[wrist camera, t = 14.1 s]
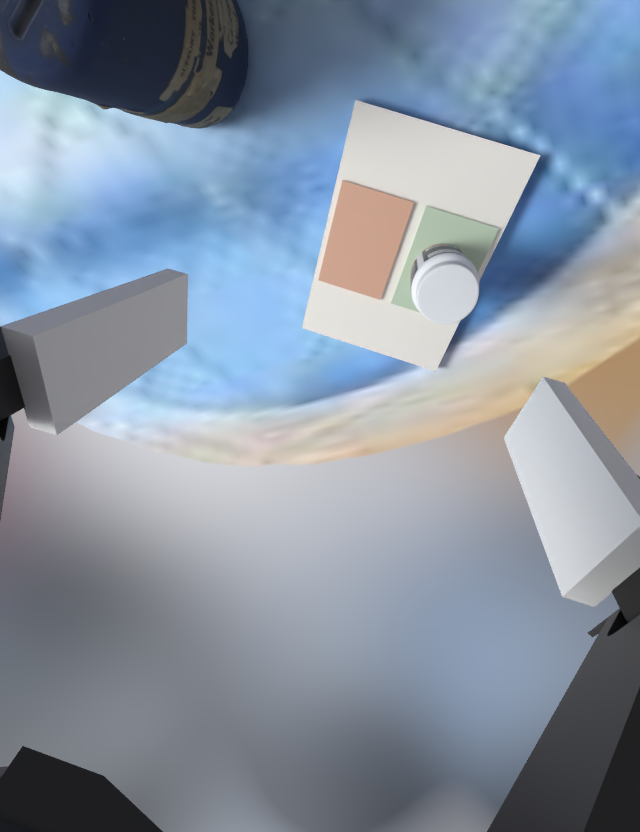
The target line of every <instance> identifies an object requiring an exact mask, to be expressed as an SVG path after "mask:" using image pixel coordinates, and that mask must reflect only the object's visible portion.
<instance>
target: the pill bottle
mask: <svg viewBox="0 0 640 832" xmlns="http://www.w3.org/2000/svg"><path fill="white" fill-rule="evenodd" d="M410 282H411V296H412V300H413V303H414V305H415V307H416V308H417V309H418V311H419V312H420V313H421V314H422V315H423V316H424V317H425V318H426V319H428V320H429V321H431V322H433V323H436V324H441V325H446V324H452V323H456V322H458V321H460V320H462V319H464V318H465V317H466V316H467V315H468V314H469V313H470V312H471V311H472V310H473V308H474V307H475V305H476V303H477V301H478V297H479V276H478V272H477V270H476V268H475V266H474V264H473V263H472V262H471V261H470V260H469V259H468V258H467V256H466V255H465V254H464V253H463V252H462V251H461V250H460V249H458V248H457V247H455V246H453V245H450V244H435V245H432V246H430V247H428V248H426V249H425V250H424V251H422V252H421V253H420V254H419V255H418V256H417V258H416V259H415V261H414V263H413V265H412V268H411V274H410Z"/></svg>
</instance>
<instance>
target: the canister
mask: <svg viewBox="0 0 640 832" xmlns="http://www.w3.org/2000/svg"><path fill="white" fill-rule="evenodd" d="M247 66H248V44H247V35H246V30H245V25H244V21H243V17H242V14H241V11H240V8H239V6H238V3H237V1H236V0H0V70H1V71H3V72H5V73H6V74H8V75H10V76H12V77H13V78H15V79H17V80H19V81H21V82H24V83H26V84H29V85H31V86H34V87H38V88H41V89H45V90H49V91H54V92H59V93H62V94H66V95H70V96H74V97H77V98H81V99H84V100H87V101H90V102H92V103H94V104H96V105H98V106H99V107H101V108H102V109H109V108H117V109H120V110H122V111H125V112H127V113H130V114H133V115H137V116H140V117H144V118H148V119H153V120H157V121H161V122H165V123H174V124H178V125H181V126H185V127H190V128H206V127H209V126H212V125H215V124H217V123H218V122H220V121H222V120H223V119H224V118H225V117H226V116H227V115H228V114H229V113H230V112H231V111H232V109H233V108H234V106H235V105H236V103H237V101H238V100H239V97H240V95H241V92H242V90H243V87H244V83H245V79H246V74H247Z"/></svg>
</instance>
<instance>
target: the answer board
mask: <svg viewBox="0 0 640 832" xmlns="http://www.w3.org/2000/svg"><path fill="white" fill-rule="evenodd" d="M539 157H540V155H537V154H534V153H531V152H527V151H524V150H521V149H517V148H514V147H511V146H507V145H504V144H501V143H497V142H494V141H491V140H487V139H484V138H481V137H477V136H474V135H471V134H467V133H464V132H461V131H457V130H454V129H451V128H447V127H444V126H441V125H437V124H434V123H431V122H427V121H424V120H421V119H418V118H414V117H411V116H408V115H404V114H401V113H398V112H394V111H391V110H388V109H384V108H381V107H378V106H374V105H371V104H368V103H364V102H361V101H358V100H355V104H354V108H353V112H352V117H351V121H350V125H349V129H348V134H347V138H346V142H345V146H344V151H343V155H342V159H341V164H340V168H339V172H338V176H337V181H336V185H335V189H334V193H333V198H332V202H331V206H330V210H329V215H328V219H327V223H326V228H325V232H324V236H323V240H322V245H321V249H320V253H319V257H318V262H317V266H316V270H315V274H314V279H313V283H312V287H311V291H310V296H309V300H308V304H307V309H306V313H305V317H304V321H303V326H302V328H304V329H307V330H310V331H313V332H316V333H319V334H322V335H325V336H328V337H331V338H334V339H338V340H341V341H344V342H347V343H350V344H353V345H356V346H359V347H362V348H365V349H369V350H372V351H375V352H378V353H381V354H384V355H387V356H390V357H393V358H396V359H399V360H403V361H406V362H409V363H412V364H415V365H418V366H421V367H424V368H427V369H430V370H433V371H436V370H437V368H438V366H439V364H440V362H441V359H442V357H443V355H444V353H445V351H446V349H447V347H448V345H449V343H450V341H451V339H452V337H453V335H454V333H455V331H456V329H457V326H458V324H459V322H460V321H458V322H456V323H452V324H446V325H441V324H436V323H433V322H431V321H429V320H428V319H426V318H425V317H424V316H423V315H422V314H421V313H420V312H419V311H418V309H417V308H416V307H415V305H414V303H413V300H412V296H411V282H410V274H411V268H412V265H413V263H414V261H415V259H416V258H417V256H418V255H419V254H420V253H421V252H422V251H424V250H425V249H426V248H428V247H430V246H432V245H435V244H450V245H453V246H455V247H457V248H458V249H460V250H461V251H462V252H463V253H464V254H465V255H466V256H467V258H468V259H469V260H470V261H471V262H472V263H473V264H474V266H475V268H476V270H477V272H478V276H479V281H480V279H481V277H482V275H483V273H484V271H485V269H486V267H487V265H488V263H489V260H490V258H491V256H492V254H493V252H494V250H495V248H496V246H497V244H498V242H499V240H500V238H501V236H502V234H503V232H504V230H505V227H506V225H507V223H508V221H509V219H510V217H511V215H512V213H513V211H514V209H515V207H516V205H517V203H518V201H519V199H520V197H521V194H522V192H523V190H524V188H525V186H526V184H527V182H528V180H529V178H530V176H531V174H532V172H533V170H534V168H535V166H536V163H537V161H538V159H539Z"/></svg>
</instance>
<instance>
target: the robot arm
mask: <svg viewBox="0 0 640 832" xmlns="http://www.w3.org/2000/svg"><path fill="white" fill-rule="evenodd" d="M187 291H188V274H185V273H181V272H178V271H174V270H171V269H166V270H163V271H160V272H157V273H154V274H151V275H148V276H145V277H143V278H140V279H137V280H134V281H131V282H128V283H125V284H122V285H119V286H116V287H114V288H111V289H108V290H105V291H102V292H99V293H96V294H93V295H90V296H88V297H85V298H82V299H79V300H76V301H73V302H70V303H67V304H64V305H61V306H59V307H56V308H53V309H50V310H47V311H44V312H41V313H38V314H35V315H33V316H30V317H27V318H24V319H21V320H18V321H15V322H12V323H9V324H6V325H4V326H1V327H0V519H1V512H2V506H3V499H4V492H5V486H6V479H7V473H8V466H9V459H10V453H11V446H12V440H13V432H14V424H13V421H12V418H11V415H12V414H14V413H15V412H17V411H19V410H21V409H22V408H24V409H25V413H26V416H27V420H28V423H29V427H32V428H35V429H38V430H42V431H44V432H48V433H51V434H54V435H58V434H59V433H61V432H62V431H63V430H65V429H67V428H68V427H69V426H71V425H72V424H74V423H75V422H76V421H78V420H79V419H81V418H82V417H83V416H85V415H86V414H88V413H89V412H91V411H92V410H93V409H95V408H96V407H98V406H99V405H100V404H102V403H103V402H105V401H106V400H107V399H109V398H110V397H112V396H113V395H115V394H116V393H117V392H119V391H120V390H122V389H123V388H124V387H126V386H127V385H129V384H130V383H131V382H133V381H134V380H136V379H137V378H139V377H140V376H141V375H143V374H144V373H146V372H147V371H148V370H150V369H151V368H153V367H154V366H155V365H157V364H158V363H160V362H161V361H163V360H164V359H165V358H167V357H168V356H170V355H171V354H172V353H174V352H175V351H177V350H178V349H179V348H181V347H182V346H184V345H185V344H187ZM504 440H505V443H506V445H507V448H508V451H509V453H510V456H511V459H512V461H513V464H514V467H515V470H516V472H517V475H518V478H519V480H520V483H521V486H522V489H523V491H524V494H525V497H526V499H527V502H528V505H529V507H530V510H531V513H532V516H533V518H534V521H535V524H536V527H537V529H538V532H539V535H540V537H541V540H542V543H543V546H544V548H545V551H546V554H547V556H548V559H549V562H550V565H551V567H552V570H553V573H554V575H555V578H556V581H557V584H558V586H559V589H560V592H561V594H562V597H565V598H568V599H571V600H574V601H577V602H580V603H584V604H587V605H590V606H593V607H595V606H596V605H597V604H599V603H600V602H601V601H602V600H604V599H605V598H606V597H607V596H608V595H610V594H611V593H613V595H614V597H615V599H616V601H617V603H618V605H619V607H620V609H618V610H617V611H616V612H614V613H613V614H612V615H611V616H609V617H608V618H607V619H605V620H604V621H603V622H602V623H600V624H599V625H597V626H596V627H595V628H594V629H592V630H591V631H590V632H588V634H590V635H591V636H592V637H594V636H595V635H597V634H599V635H598V636H597V638H596V640H595V642H594V643H593V645H592V647H591V649H590V651H589V652H588V654H587V656H586V658H585V659H584V661H583V663H582V665H581V666H580V668H579V670H578V672H577V674H576V675H575V677H574V679H573V681H572V682H571V684H570V686H569V688H568V689H567V692H566V693H565V695H564V697H563V698H562V700H561V702H560V704H559V706H558V707H557V709H556V711H555V712H554V714H553V716H552V718H551V719H550V721H549V723H548V725H547V727H546V728H545V730H544V732H543V734H542V735H541V738H540V739H539V741H538V743H537V744H536V746H535V748H534V750H533V751H532V753H531V755H530V757H529V758H528V760H527V762H526V764H525V765H524V767H523V769H522V771H521V772H520V774H519V776H518V778H517V780H516V781H515V783H514V785H513V787H512V788H511V790H510V792H509V794H508V795H507V797H506V799H505V801H504V803H503V805H502V806H501V808H500V810H499V811H498V813H497V815H496V817H495V818H494V820H493V822H492V824H491V825H490V827H489V829H488V831H487V832H640V477H639V476H638V475H637V474H635V473H634V471H633V470H632V469H631V467H630V466H629V465H628V463H627V462H626V461H625V460H624V458H623V457H622V456H621V454H620V453H619V452H618V451H617V449H616V448H615V447H614V445H613V444H612V443H611V442H610V440H609V439H608V438H607V436H606V435H605V434H604V433H603V431H602V430H601V429H600V427H599V426H598V425H597V424H596V423H595V421H594V420H593V418H592V417H591V416H590V415H589V413H588V412H587V411H586V410H585V408H584V407H583V406H582V404H581V403H580V402H579V401H578V399H577V398H576V397H575V395H574V394H573V393H572V392H571V390H570V389H569V388H568V386H567V385H566V384H565V383H563V382H560V381H556V380H553V379H549V378H546V377H542V379H541V380H540V382H539V384H538V385H537V387H536V388H535V390H534V391H533V393H532V395H531V396H530V398H529V399H528V401H527V402H526V404H525V406H524V407H523V409H522V410H521V412H520V413H519V415H518V417H517V418H516V420H515V421H514V423H513V424H512V426H511V427H510V429H509V431H508V432H507V434H506V435H505V437H504ZM0 832H162V831H161V830H160V829H159V828H158V827H157V826H156V825H155V824H154V823H153V822H152V821H151V820H150V819H149V818H148V817H147V816H146V815H145V814H143V813H142V812H141V811H140V810H139V809H138V808H137V807H136V806H135V805H134V804H133V803H132V802H131V801H130V800H129V799H128V798H126V797H125V796H124V795H123V794H122V793H121V792H120V791H119V790H118V789H117V788H116V787H115V786H114V785H113V784H112V783H110V781H108V780H107V779H106V778H105V777H104V776H102V775H100V774H97V773H94V772H91V771H89V770H86V769H83V768H81V767H78V766H75V765H73V764H70V763H67V762H64V761H62V760H59V759H56V758H54V757H51V756H48V755H46V754H43V753H40V752H37V751H35V750H32V749H29V748H26V747H24V746H22V748H21V750H20V751H19V752H18V754H17V755H16V757H15V758H14V759H13V761H12V762H11V764H10V765H9V767H0Z"/></svg>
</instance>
